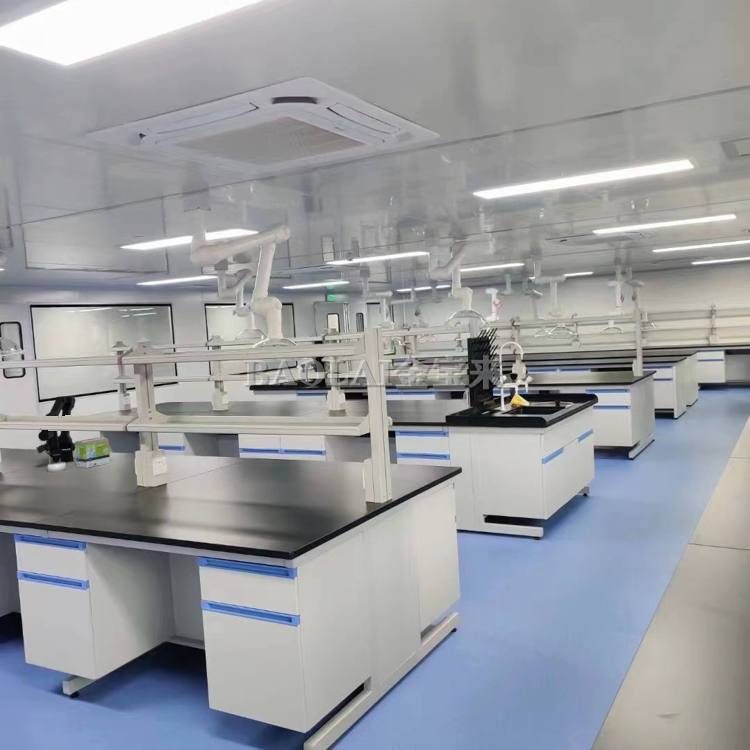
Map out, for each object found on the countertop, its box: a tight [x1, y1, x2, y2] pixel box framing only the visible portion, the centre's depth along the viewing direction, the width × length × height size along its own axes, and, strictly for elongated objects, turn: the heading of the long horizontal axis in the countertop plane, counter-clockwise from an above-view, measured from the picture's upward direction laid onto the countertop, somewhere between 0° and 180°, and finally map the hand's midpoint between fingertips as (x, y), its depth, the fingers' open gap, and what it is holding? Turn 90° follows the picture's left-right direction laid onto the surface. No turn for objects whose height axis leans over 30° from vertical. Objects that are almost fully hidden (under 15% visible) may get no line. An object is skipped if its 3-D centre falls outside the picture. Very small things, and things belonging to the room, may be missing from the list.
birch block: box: [48, 456, 61, 464], centre depth 377 cm, size 5×5×6 cm
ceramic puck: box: [47, 461, 67, 474], centre depth 367 cm, size 9×9×4 cm
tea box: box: [74, 437, 111, 469], centre depth 377 cm, size 15×10×15 cm, turn 148°
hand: (54, 465), depth 377 cm, fingers open, 9 cm apart
